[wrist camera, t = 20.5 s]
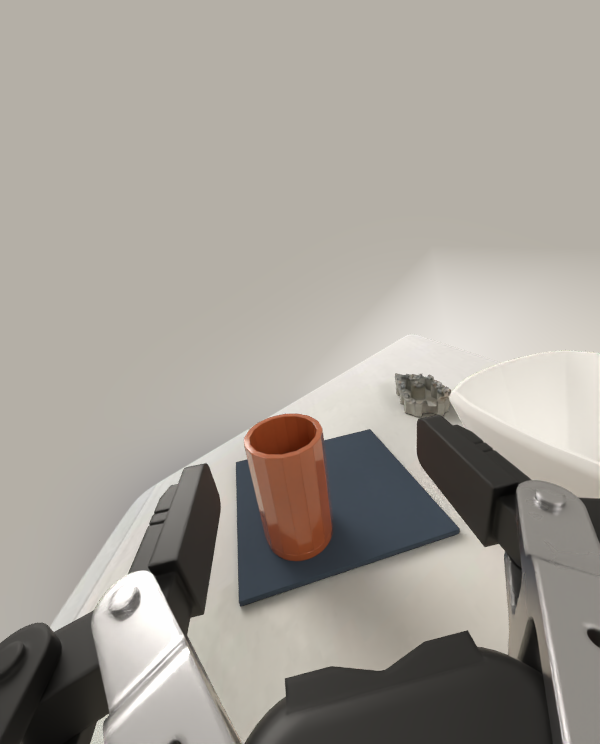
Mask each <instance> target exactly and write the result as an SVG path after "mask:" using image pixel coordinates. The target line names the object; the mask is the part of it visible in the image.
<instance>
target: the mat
mask: <svg viewBox="0 0 600 744" xmlns="http://www.w3.org/2000/svg"><path fill="white" fill-rule="evenodd" d="M324 447H325V455H326V464H327V473H328V482H329V490H330V499H331V508H332V516H333V534H332V537H331V540H330V542H329V543H328V545H327V546H326V548H325V549H324V550H323V551H322V552H321V553H319V554H318V555H316V556H314V557H313V558H310V559H307V560H303V561H289V560H286V559H283V558H281V557H279V556H277V555H276V554H275V553H274V552H273V551H272V550H271V549H270V547H269V545H268V542H267V539H266V536H265V532H264V528H263V524H262V519H261V515H260V511H259V507H258V502H257V498H256V494H255V489H254V485H253V481H252V477H251V472H250V468H249V464H248V459H247V460H243V461H239V462H236V486H237V534H238V582H239V604H240V606H244V605H247V604H250V603H252V602H255V601H258V600H261V599H264V598H267V597H270V596H273V595H276V594H279V593H282V592H285V591H288V590H291V589H294V588H297V587H300V586H303V585H306V584H309V583H312V582H315V581H318V580H321V579H324V578H327V577H330V576H333V575H336V574H339V573H342V572H345V571H348V570H351V569H354V568H357V567H360V566H363V565H366V564H369V563H372V562H375V561H378V560H381V559H384V558H387V557H390V556H393V555H396V554H399V553H402V552H405V551H408V550H411V549H414V548H417V547H420V546H423V545H426V544H429V543H432V542H435V541H438V540H441V539H444V538H447V537H450V536H453V535H456V534H459V530H460V529H459V528H458V527H457V525H456V524H455V523H454V522H453V521H452V520H451V519H450V518H449V517H448V515H447V514H446V513H445V512H444V511H443V510H442V509H441V508H440V507H439V505H438V504H437V503H436V502H435V501H434V500H433V499H432V498H431V497H430V495H429V494H428V493H427V492H426V491H425V490H424V489H423V488H422V487H421V485H420V484H419V483H418V482H417V481H416V480H415V479H414V478H413V477H412V475H411V474H410V473H409V472H408V471H407V470H406V469H405V468H404V467H403V465H402V464H401V463H400V462H399V461H398V460H397V459H396V458H395V457H394V455H393V454H392V453H391V452H390V451H389V450H388V449H387V448H386V447H385V445H384V444H383V443H382V442H381V441H380V440H379V439H378V438H377V437H376V435H375V434H374V433H373V432H372V431H371V430H370V429H369V430H365V431H361V432H357V433H353V434H348V435H344V436H340V437H336V438H332V439H328V440H324Z"/></svg>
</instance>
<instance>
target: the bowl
mask: <svg viewBox="0 0 600 744" xmlns="http://www.w3.org/2000/svg"><path fill="white" fill-rule="evenodd" d="M449 400H450V402H451V404H452V406H453V408H454V409H455V411H456V413H457V415H458V417H459V419H460V420H461V422H462V424H463V426H464V428H465V429H467V430H470V431H472V432H473V433H474V434H476V435H477V436H478V437H479V438H481V439H482V440H483V442H484V443H485V442H486V443H487V444H488V445H489V446H491V447H492V448H493V450H495V451H497V452H498V453H499V454H500V455H502V456H503V457H504V458H505V459H507V460H508V461H509V462H510V463H512V464H513V465H514V466H515V467H517V468H518V469H519V470H520V471H522V472H523V473H524V474H525V475H527V476H528V477H529V478H530V479H531V480H540V481H546V482H550V483H553V484H556V485H558V486H561V487H563V488H565V489H567V490H568V491H570V492H572V493H573V494H574V495H576V496H577V497H579V498H599V499H600V353H594V352H582V351H581V352H580V351H570V350H561V351H553V352H546V353H538V354H533V355H529V356H524V357H520V358H516V359H513V360H509V361H506V362H502V363H499V364H496V365H493V366H491V367H488V368H486V369H484V370H481V371H479V372H476V373H475V374H473V375H471V376H469V377H467V378H466V379H464V380H462V381H461V382H460V383H459V384H458V385H457V386H456V387H455V388H454V390H453V391H452V392H451V394H450V397H449Z"/></svg>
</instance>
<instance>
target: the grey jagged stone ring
mask: <svg viewBox="0 0 600 744" xmlns="http://www.w3.org/2000/svg"><path fill="white" fill-rule="evenodd" d="M395 382H396V394H397V395H400V403H401V404H404V411H405V413H408V414H412V415H414V416H416V417H418V416H419V417H421V416H422V414H423V413H434V414H436V415H441V416H443V415H444V413H445V412H448V410H449V405H450V400H449V398H448V396H450V394H451V390H450V389H449V388H448V387H447V386H446V387H445V386H444V385H442V383H440V382H439V381H437V380H434V377H433V376H431V375H428V377H423V376H422V374H419V375H415V374H412V375H409V374H406V375H400V374H395Z"/></svg>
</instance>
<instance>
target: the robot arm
mask: <svg viewBox="0 0 600 744" xmlns="http://www.w3.org/2000/svg"><path fill="white" fill-rule="evenodd" d="M417 456H418V459H419V462H420V464H421V466H422V468H423V469H424V470H425V472H426V473H427V474H428V475H429V477H430V478H431V479H432V480H433V482H434V483H435V484H436V486H437V487H438V488H439V489H440V491H441V492H442V493H443V494H444V496H445V497H446V498H447V500H448V501H449V502H450V503H451V505H452V506H453V507H454V509H455V510H456V511H457V512H458V514H459V515H460V516H461V517H462V519H463V520H464V521H465V523H466V524H467V525H468V526H469V528H470V529H471V530H472V531H473V533H474V534H475V535H476V537H477V538H478V539H479V540H480V542H481V543H482V544H483V545H484V547H487V546H491V545H496V544H500V545H501V547H502V548H503V549H504V550H505V554H504V564H505V576H506V589H507V602H508V615H509V641H508V655H506V654H503V653H501V652H498V651H495V650H491V649H487V648H483V647H477V646H476V644H475V642H474V641H473V639H472V637H471V635H470V634H469V632H468V630H467V631H464V632H460V633H456V634H452V635H448V636H445V637H441V638H437V639H433V640H429V641H426V642H423V643H422V644H421V645H419V646H418V647H416V648H415V649H414V650H412V651H411V652H410V653H408V654H407V655H405V656H404V657H403V658H401V659H400V660H399V661H397V662H396V663H394V664H393V665H392V666H390V667H389V668H387V669H386V670H383V671H374V670H363V669H353V668H343V667H333V666H331V667H327V668H323V669H319V670H316V671H312V672H308V673H304V674H300V675H297V676H293V677H289V678H285V687H286V697H285V698H283V699H282V700H280V701H279V702H278V703H277V704H276V705H275V706H273V707H272V708H271V709H270V710H269V711H268V712H267V713H266V714H265V716H264V717H263V718H262V719H261V720H260V721H259V723H258V724H257V725H256V727H255V728H254V730H253V731H252V733H251V734H250V736H249V737H248V739H247V740H246V742H245V744H600V499H599V498H579V497H577V496H576V495H574V494H573V493H572V492H570V491H568V490H567V489H565V488H563V487H561V486H558V485H556V484H553V483H550V482H546V481H540V480H531V479H530V478H529V477H528V476H527V475H525V474H524V473H523V472H522V471H520V470H519V469H518V468H517V467H515V466H514V465H513V464H512V463H510V462H509V461H508V460H507V459H505V458H504V457H503V456H502V455H500V454H499V453H498V452H497V451H495V450H493V448H492V447H491V446H489V445H488V444H487V443H486V442H485V443H484V442H483V440H482V439H481V438H479V437H478V436H477V435H476V434H474V433H473V432H472V431H470V430H467V429H465V428H463V427H461V426H459V425H452V424H450V423H449V422H448V421H447V420H446V419H445V418H443V417H442V416H441V415H434V416H430V417H425V418H420V419H418V421H417ZM220 510H221V506H220V497H219V493H218V491H217V488H216V485H215V482H214V479H213V476H212V474H211V471H210V468H209V466H208V464H207V463H205V464H200V465H195V466H191V467H186V468H184V470H183V472H182V475H181V477H180V480H179V483H178V484H176V485H171V486H170V487H169V488H168V490H167V491H166V492H165V493H164V494H163V496H162V497H161V498H160V500H159V502H158V504H157V507H156V509H155V511H154V515H153V516H152V519H151V521H150V523H149V524H150V526H148V528H147V530H146V533H145V535H144V537H143V540H142V542H141V544H140V547H139V549H138V551H137V554H136V556H135V559H134V561H133V563H132V566H131V568H130V570H129V573H128V575H126V576H124V577H123V578H121V579H120V580H118V581H117V582H116V583H115V584H113V585H112V586H111V587H110V588H109V589H108V590H107V591H106V593H105V594H104V595H103V596H102V598H101V599H100V600H99V602H98V604H97V606H96V608H95V610H93V611H92V612H90V613H88V614H87V615H85V616H83V617H81V618H79V619H77V620H75V621H74V622H72V623H70V624H68V625H66V626H64V627H62V628H61V629H59V630H57V631H55V632H53V631H52V630H51V629H50V627H49V626H48V625H46V624H44V623H34V624H31V625H28V626H26V627H24V628H22V629H20V630H18V631H17V632H15V633H13V634H12V635H10V636H9V637H8V638H6V639H5V640H4V641H2V642H1V643H0V744H90V742H91V739H92V736H93V733H94V729H95V726H96V723H97V721H98V720H100V719H101V718H103V717H104V716H106V715H107V714H109V716H108V717H107V718H106V719H105V721H104V724H103V736H104V743H105V744H242V742H241V740H240V738H239V736H238V734H237V732H236V730H235V728H234V727H233V725H232V723H231V721H230V719H229V717H228V715H227V713H226V711H225V709H224V708H223V706H222V704H221V702H220V700H219V698H218V696H217V694H216V692H215V690H214V688H213V686H212V684H211V682H210V680H209V678H208V676H207V674H206V672H205V670H204V668H203V666H202V664H201V662H200V660H199V658H198V656H197V654H196V652H195V650H194V648H193V646H192V644H191V642H190V640H189V638H188V636H187V632H188V627H189V622H190V618H191V617H195V616H200V615H204V610H205V604H206V598H207V592H208V586H209V579H210V573H211V567H212V561H213V555H214V548H215V542H216V536H217V530H218V524H219V517H220Z"/></svg>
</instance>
